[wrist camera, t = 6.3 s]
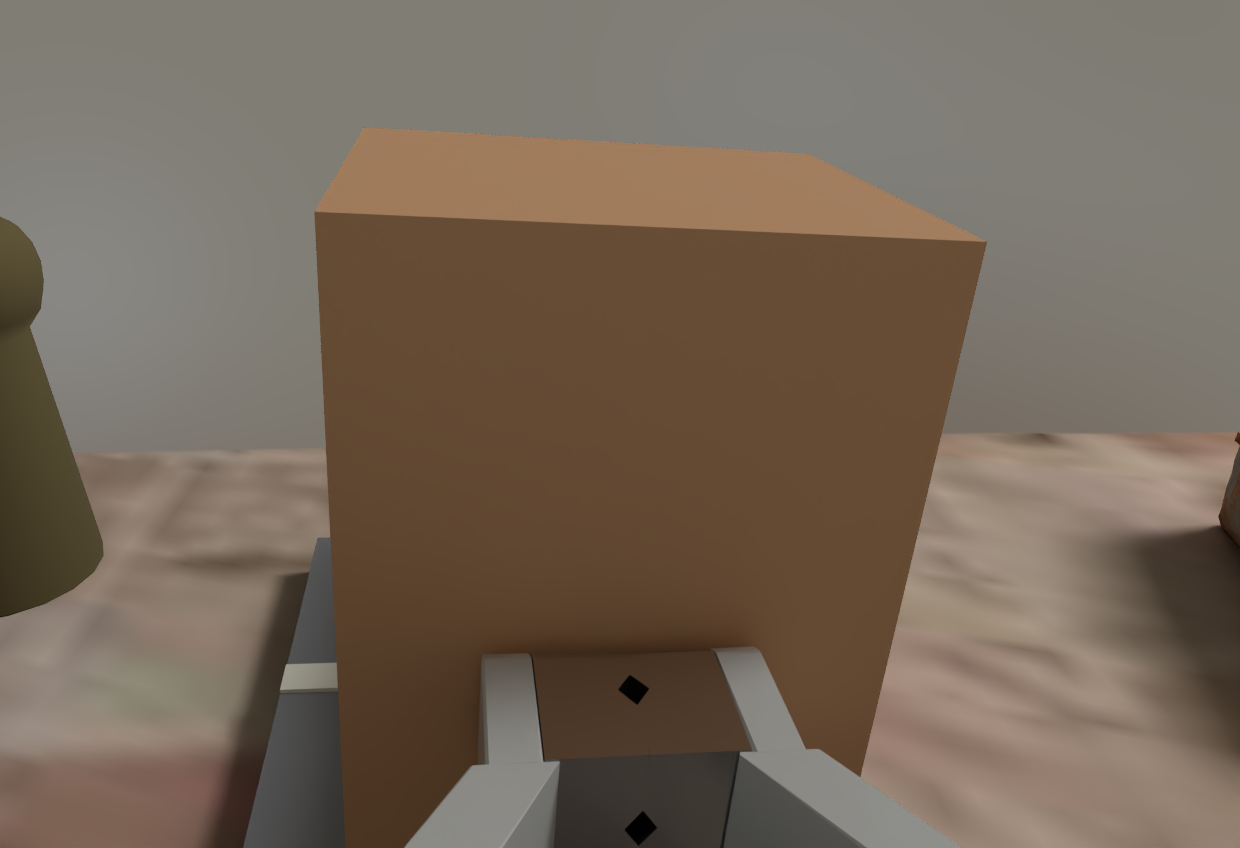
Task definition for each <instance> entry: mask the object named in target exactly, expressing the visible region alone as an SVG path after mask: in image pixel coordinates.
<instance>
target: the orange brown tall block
mask: <svg viewBox="0 0 1240 848" xmlns="http://www.w3.org/2000/svg"><path fill="white" fill-rule="evenodd" d="M315 229H316V250H317V270H318V291H319V312H320V332H321V353H322V372H323V373H322V374H323V393H324V415H325V435H326V456H327V476H328V497H329V517H330V538H331V558H332V579H333V599H334V620H335V640H336V661H337V681H338V702H339V722H340V743H341V763H342V784H343V804H344V825H345V845H346V848H404V847H405V846H406V844H407V843H408V842H409V841H410V839H411V838H412V837H413V836H414V835H415V833H416V832H417V831H418V830H419V828H420V827H421V826H422V825H423V824H424V822H425V821H426V820H427V819H428V817H429V816H430V815H431V814H432V813H433V811H434V810H435V809H436V808H437V806H438V805H439V804H440V803H441V801H442V800H443V799H444V798H445V797H446V795H447V794H448V793H449V792H450V790H451V789H452V788H453V787H454V786H455V784H456V783H457V782H458V781H459V779H460V778H461V777H462V776H463V775H464V773H465V772H466V771H467V770H468V768H469V767H470V766H473V765H478V727H479V698H480V670H481V659H482V654H515V653H528V654H529V655H530V654H531V653H601V652H622V653H637V652H667V651H697V650H710V649H711V648H729V647H747V646H754V647H756V648H757V649H758V650H760V651H761V653H762V656H763V658H764V660H765V662H766V664H767V666H768V668H769V671H770V673H771V675H772V677H773V679H774V681H775V684H776V686H777V688H778V690H779V692H780V694H781V697H782V699H783V701H784V703H785V705H786V707H787V709H788V712H789V714H790V716H791V718H792V720H793V722H794V725H795V727H796V729H797V731H798V733H799V735H800V737H801V740H802V742H803V744H804V746H805V748H806V749H820V750H821V751H823V752H824V753H826V754H827V755H829V756H830V757H832V758H833V759H834V760H836V761H837V762H839V763H840V764H842V765H843V766H845V767H846V768H847V769H849V770H850V771H852V772H853V773H855V774H856V775H858V776H859V777H860V775H861V771H862V767H863V763H864V759H865V754H866V750H867V746H868V742H869V737H870V733H871V729H872V725H873V721H874V716H875V712H876V708H877V704H878V699H879V695H880V691H881V687H882V683H883V678H884V674H885V670H886V666H887V661H888V657H889V653H890V649H891V645H892V640H893V636H894V632H895V628H896V623H897V619H898V615H899V611H900V607H901V602H902V598H903V594H904V590H905V585H906V581H907V577H908V573H909V569H910V564H911V560H912V556H913V552H914V548H915V543H916V539H917V535H918V531H919V526H920V522H921V518H922V514H923V510H924V505H925V501H926V497H927V493H928V488H929V484H930V480H931V476H932V472H933V467H934V463H935V459H936V455H937V450H938V446H939V442H940V438H941V434H942V429H943V425H944V420H945V417H946V412H947V408H948V404H949V400H950V396H951V391H952V387H953V383H954V379H955V374H956V370H957V366H958V362H959V358H960V353H961V349H962V345H963V341H964V336H965V332H966V328H967V324H968V320H969V315H970V311H971V307H972V303H973V298H974V294H975V290H976V286H977V282H978V277H979V273H980V269H981V264H982V260H983V256H984V252H985V247H986V243H987V242H986V241H984V240H982V239H980V238H978V237H976V236H974V235H972V234H970V233H968V232H966V231H964V230H962V229H960V228H958V227H956V226H954V225H952V224H949V223H948V222H945V221H944V220H942V219H939V218H937V217H935V216H934V215H931V214H929V213H927V212H925V211H923V210H921V209H919V208H917V207H915V206H913V205H911V204H909V203H907V202H905V201H903V200H901V199H899V198H897V197H895V196H893V195H891V194H889V193H887V192H885V191H882V190H881V189H879V188H877V187H875V186H873V185H871V184H868V183H867V182H865V181H863V180H861V179H859V178H857V177H854V176H852V175H850V174H848V173H846V172H844V171H842V170H840V169H838V168H836V167H834V166H832V165H830V164H828V163H826V162H824V161H822V160H820V159H818V158H816V157H814V156H812V155H810V154H801V153H784V152H768V151H751V150H735V149H718V148H701V147H684V146H668V145H651V144H635V143H617V142H601V141H585V140H568V139H550V138H535V137H517V136H501V135H485V134H467V133H451V132H435V131H417V130H400V129H384V128H366V127H364V129H363V131H362V132H361V134H360V136H359V137H358V139H357V141H356V143H355V145H354V146H353V148H352V149H351V151H350V153H349V154H348V156H347V158H346V159H345V161H344V163H343V165H342V166H341V168H340V170H339V171H338V173H337V175H336V176H335V178H334V180H333V181H332V183H331V185H330V187H329V188H328V190H327V192H326V193H325V195H324V197H323V198H322V200H321V202H320V204H319V205H318V207H317V209H316V210H315Z"/></svg>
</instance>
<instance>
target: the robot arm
mask: <svg viewBox="0 0 1240 848" xmlns="http://www.w3.org/2000/svg"><path fill="white" fill-rule="evenodd" d="M404 848H962V847H960V846H959V845H957V844H956V843H954V842H953V841H951V840H950V839H949V838H947V837H946V836H944V835H943V834H941V833H940V832H938V831H937V830H936V829H934V828H933V827H931V826H930V825H928V824H927V823H925V822H924V821H923V820H921V819H920V818H918V817H917V816H915V815H914V814H912V813H911V812H910V811H908V810H907V809H905V808H904V807H902V806H901V805H899V804H898V803H897V802H895V801H894V800H892V799H891V798H889V797H888V796H886V795H885V794H884V793H882V792H881V791H879V790H878V789H876V788H875V787H873V786H872V785H871V784H869V783H868V782H866V781H865V780H863V779H862V778H860V777H859V776H858V775H856V774H855V773H853V772H852V771H850V770H849V769H847V768H846V767H845V766H843V765H842V764H840V763H839V762H837V761H836V760H834V759H833V758H832V757H830V756H829V755H827V754H826V753H824V752H823V751H821V750H820V749H806V748H805V746H804V744H803V742H802V740H801V737H800V735H799V733H798V731H797V729H796V727H795V725H794V722H793V720H792V718H791V716H790V714H789V712H788V709H787V707H786V705H785V703H784V701H783V699H782V697H781V694H780V692H779V690H778V688H777V686H776V684H775V681H774V679H773V677H772V675H771V673H770V671H769V668H768V666H767V664H766V662H765V660H764V658H763V656H762V653H761V651H760V650H758V649H757V648H756V647H754V646H747V647H729V648H711V649H710V650H697V651H667V652H637V653H622V652H601V653H531V654H530V655H529V654H528V653H515V654H482V659H481V670H480V698H479V727H478V765H473V766H470V767H469V768H468V770H467V771H466V772H465V773H464V775H463V776H462V777H461V778H460V779H459V781H458V782H457V783H456V784H455V786H454V787H453V788H452V789H451V790H450V792H449V793H448V794H447V795H446V797H445V798H444V799H443V800H442V801H441V803H440V804H439V805H438V806H437V808H436V809H435V810H434V811H433V813H432V814H431V815H430V816H429V817H428V819H427V820H426V821H425V822H424V824H423V825H422V826H421V827H420V828H419V830H418V831H417V832H416V833H415V835H414V836H413V837H412V838H411V839H410V841H409V842H408V843H407V844H406V846H405V847H404Z"/></svg>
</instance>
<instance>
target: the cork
mask: <svg viewBox="0 0 1240 848" xmlns="http://www.w3.org/2000/svg"><path fill="white" fill-rule="evenodd" d="M43 280H44V279H43V273H42V266H41V260H40V258H39V256H38V254H37V251H36V249H35V247H34V245H33V243H32V242H31V240H30V239H29V238H28V237H27V236H26V235H25V234H24V232H23V231H22V230H21V229H20V228H19V227H18V226H17V225H15V224H13V223H12V222H11V221H9V220H6V219H4V218H2V217H0V617H1V616H7V615H11V614H14V613H17V612H20V611H23V610H26V609H29V608H32V607H35V606H38V605H41V604H44V603H46V602H48V601H50V600H52V599H54V598H56V597H58V596H60V595H62V594H64V593H66V592H68V591H70V590H71V589H73V588H75V587H76V586H77V585H78V584H80V583H81V582H82V581H83V580H85V579H86V578H87V577H88V576H89V575H91V574H92V573H93V572H94V571H95V569H96V567H97V566H98V564H99V562H100V561H101V559H102V557H103V541H102V538H101V535H100V532H99V529H98V526H97V523H96V520H95V517H94V515H93V512H92V509H91V506H90V503H89V500H88V497H87V494H86V491H85V488H84V485H83V482H82V479H81V476H80V473H79V470H78V467H77V464H76V462H75V459H74V456H73V453H72V450H71V447H70V444H69V441H68V438H67V435H66V432H65V429H64V426H63V423H62V420H61V417H60V414H59V411H58V409H57V406H56V403H55V400H54V397H53V394H52V391H51V388H50V385H49V382H48V379H47V376H46V373H45V370H44V368H43V364H42V362H41V358H40V356H39V353H38V350H37V347H36V344H35V341H34V338H33V335H32V332H31V329H30V325H31V324H32V322H33V320H34V319H35V317H36V315H37V314H38V312H39V310H40V309H41V301H42V294H43V283H44V281H43Z"/></svg>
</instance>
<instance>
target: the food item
mask: <svg viewBox="0 0 1240 848" xmlns="http://www.w3.org/2000/svg"><path fill="white" fill-rule="evenodd" d="M1235 441H1236V442H1237V443H1238V444H1239V445H1240V433H1239V432H1238V433H1237V436H1236V438H1235ZM1218 517H1219V520H1220V524H1221V527H1222V528H1224V529H1225V530H1226V531H1227V532H1228V533H1229V535H1230V536H1231V537H1232V538H1233V540H1234V541H1235V542H1236V543H1237V544H1238V546H1239V547H1240V447H1239V449H1238V452H1237V455H1236V458H1235V460H1234V465H1233V470H1232V474H1231V477H1230V479H1229V482H1228V484H1227V488H1226V492H1225V496H1224V500H1223V504H1222V508H1221V511H1220V514H1219V516H1218Z"/></svg>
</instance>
